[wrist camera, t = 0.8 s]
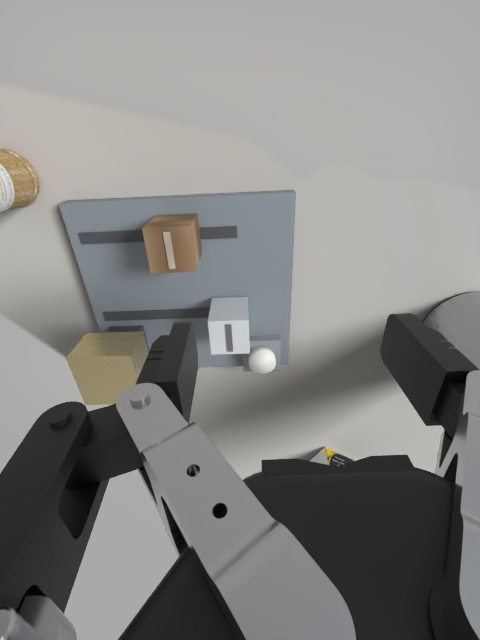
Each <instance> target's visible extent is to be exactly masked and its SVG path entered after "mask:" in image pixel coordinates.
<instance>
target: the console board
mask: <svg viewBox="0 0 480 640" xmlns="http://www.w3.org/2000/svg"><path fill="white" fill-rule="evenodd" d="M295 199H296V192H295V191H294V190H283V191H261V192H240V193H218V194H196V195H174V196H152V197H131V198H109V199H87V200H67V201H64V202H61V203H58V204H59V207H60V211H61V214H62V217H63V220H64V223H65V226H66V229H67V232H68V235H69V238H70V241H71V244H72V248H73V251H74V254H75V257H76V260H77V263H78V266H79V269H80V272H81V275H82V278H83V281H84V285H85V288H86V291H87V294H88V297H89V300H90V303H91V306H92V309H93V312H94V315H95V318H96V322H97V325H98V328H99V331H100V333H107V332H137V331H143V332H144V336H145V341H146V345H147V349H148V353H149V351H150V348H151V346H152V343H153V342H154V341H155V340H156V339H158V338H159V337H160V336H161V335H170V332H171V329H172V326H173V323H175V322H193V324H194V330H195V337H196V344H197V352H198V367H221V366H243V369H244V372H245V371H253V372H255V373H258V374H266V373H269V372H271V371H279V370H280V365H286V364H288V355H289V333H290V310H291V288H292V266H293V243H294V221H295ZM194 213H198V220H199V229H200V238H201V247H202V255H201V258H200V261H199V264H198V267H197V269H196V272H179V273H153V274H151V271H150V266H149V261H148V256H147V251H146V246H145V241H144V236H143V232H142V227H144V226H145V225H146V224H147V223H148V222H149V221H151V220H152V219H153V218H154V217H155V216H156V215H171V214H194ZM228 297H248V313H249V342H250V353H247V354H215V355H211V347H210V338H209V329H208V317H209V312H210V307H211V301H212V298H228Z"/></svg>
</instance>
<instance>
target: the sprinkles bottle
mask: <svg viewBox="0 0 480 640" xmlns="http://www.w3.org/2000/svg"><path fill="white" fill-rule="evenodd" d="M38 193H39V182H38V177H37V175H36V172H35V170H34V169H33V167H32V166H31V165H30V164H29V163H28V162H27V161H26V160H25V159H24V158H23V157H22V156H21V155H19V154H17V153H15V152H13V151H11V150H7V149H0V212H2V211H5V210H7V209H10V208H14V207H22V206H27V205H29V204H31V203H33V202H34V200H35V199H36V197H37V195H38Z"/></svg>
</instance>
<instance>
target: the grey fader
mask: <svg viewBox="0 0 480 640" xmlns="http://www.w3.org/2000/svg"><path fill="white" fill-rule="evenodd" d="M208 329H209V338H210V347H211V355H215V354H247V353H250V342H249V313H248V297H228V298H212V301H211V307H210V312H209V317H208Z"/></svg>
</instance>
